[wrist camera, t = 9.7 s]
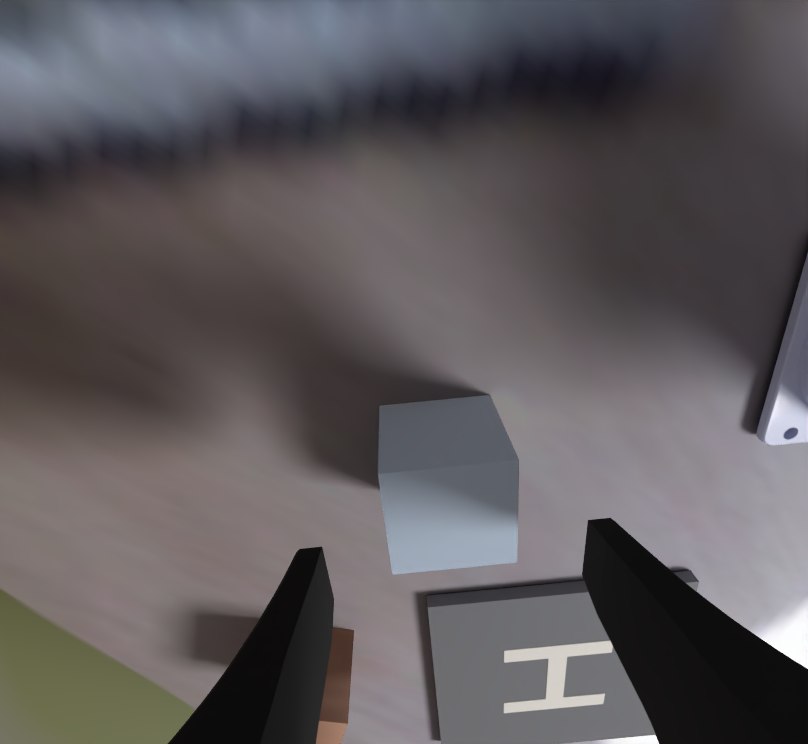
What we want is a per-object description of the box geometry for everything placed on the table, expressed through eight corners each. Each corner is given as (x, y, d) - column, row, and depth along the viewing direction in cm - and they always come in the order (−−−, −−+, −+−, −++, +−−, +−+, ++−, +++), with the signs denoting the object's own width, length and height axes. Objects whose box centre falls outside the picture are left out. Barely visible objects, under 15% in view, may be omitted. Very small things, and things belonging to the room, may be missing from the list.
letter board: (690, 570, 20) (699, 582, 20) (652, 722, 26) (658, 735, 25) (426, 595, 21) (427, 608, 20) (441, 742, 26) (442, 755, 25)
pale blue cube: (489, 393, 16) (519, 460, 13) (490, 481, 18) (517, 562, 14) (379, 404, 16) (377, 474, 13) (390, 491, 18) (392, 574, 14)
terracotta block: (354, 628, 21) (347, 723, 18) (337, 679, 23) (328, 776, 19) (268, 617, 21) (244, 712, 17) (258, 670, 23) (233, 768, 19)
